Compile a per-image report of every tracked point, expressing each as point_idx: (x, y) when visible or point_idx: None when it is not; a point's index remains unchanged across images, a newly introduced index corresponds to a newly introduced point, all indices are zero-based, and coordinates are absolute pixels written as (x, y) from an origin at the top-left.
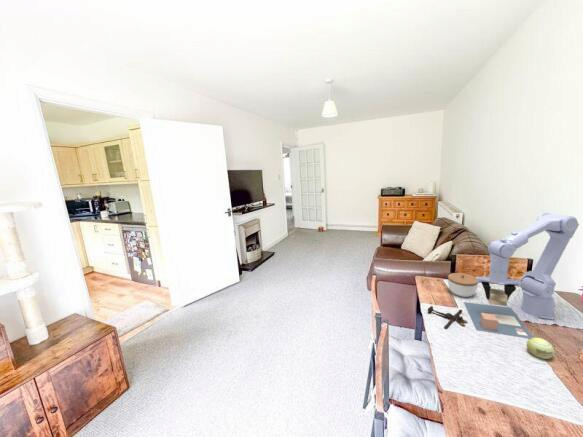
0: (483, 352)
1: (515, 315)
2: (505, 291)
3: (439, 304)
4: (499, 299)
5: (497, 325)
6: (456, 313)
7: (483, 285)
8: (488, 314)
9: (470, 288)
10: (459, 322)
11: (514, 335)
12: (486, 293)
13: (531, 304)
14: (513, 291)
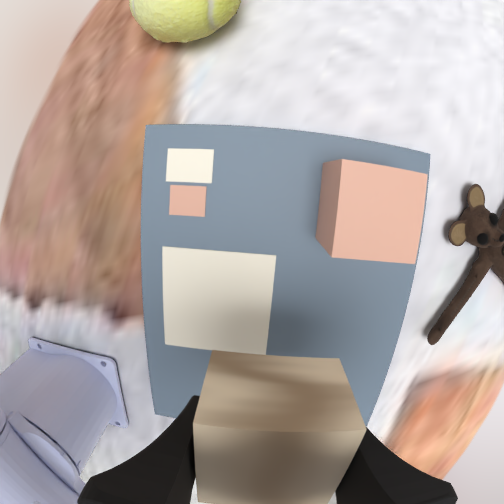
0: (426, 8)
1: (154, 354)
2: (188, 483)
3: (472, 374)
4: (274, 393)
5: (334, 160)
6: (471, 294)
7: (456, 500)
8: (376, 246)
9: (332, 501)
10: (485, 208)
11: (241, 133)
12: (379, 442)
13: (65, 400)
14: (116, 468)
